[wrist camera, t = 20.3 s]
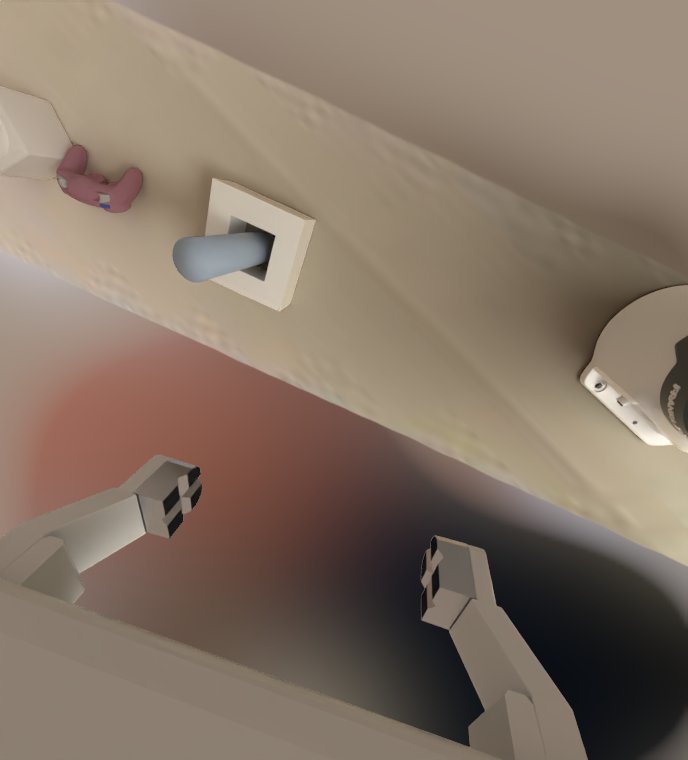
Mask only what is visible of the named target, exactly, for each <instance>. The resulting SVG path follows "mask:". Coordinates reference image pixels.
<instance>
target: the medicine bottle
mask: <svg viewBox="0 0 688 760" xmlns="http://www.w3.org/2000/svg"><path fill="white" fill-rule="evenodd" d="M72 146H73V145H72V143H71V141H70V139H69V137H68V136H67V134H66V132H65V130H64V128H63V126H62V124H61V122H60V120H59V119H58V117H57V115H56V113H55V111H54V109H53V107H52V105H51V103H50V102H49V101H47V100H45V99H41V98H38V97H35V96H32V95H29V94H25V93H22V92H19V91H16V90H13V89H9V88H6V87H3V86H0V175H3V176H14V177H24V178H34V179H44V180H50V179H52V178H54V177H56V175H57V174H56V170H57V168H58V167H59V165H60V164H61V163H62V161H63V159H64V157H65V155H66V153H67V152H68V150H69V149H70V147H72Z"/></svg>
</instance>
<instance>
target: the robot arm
mask: <svg viewBox="0 0 688 760" xmlns="http://www.w3.org/2000/svg"><path fill="white" fill-rule="evenodd" d="M580 383H581V384H582V385H583V386H584V387H585V388H586V389H587V390H588V391H590V392H591V393H592V394H593V395H594V396H595V397H596V398H597V399H598V400H599V401H600V402H601V403H602V404H603V405H605V406H606V407H607V408H608V409H609V410H610V411H611V412H612V413H613V414H614V415H615V416H616V417H617V418H618V419H620V420H621V421H622V422H623V423H624V424H625V425H626V426H627V427H628V428H629V429H630V430H631V431H632V432H633V433H634V434H636V435H637V436H638V437H639V438H640V439H641V440H642V441H644V442H645V443H646V444H648V445H656V446H661V445H674V446H676V447H677V448H678V449H679V450H681V451H683V452H688V285H682V286H674V287H669V288H665V289H661V290H658V291H655V292H653V293H650V294H648V295H645V296H643V297H641V298H639V299H637V300H636V301H634V302H632V303H631V304H629V305H628V306H626V307H625V308H624V309H622V310H621V311H620V312H619V313H618V314H617V315H615V316H614V317H613V318H612V320H611V321H610V322H609V323H608V324H607V325H606V327H605V328H604V330H603V331H602V333H601V335H600V336H599V338H598V341H597V344H596V347H595V351H594V355H593V358H592V360H591V362H590V363H589V365H588V366H587V367H586V368H585V370H584V371H583V373H582V374H581V376H580ZM597 383H600V384H599V385H598V386H595V385H596V384H597ZM200 475H201V472H200V467H197V466H194V465H191V464H187V463H185V462H181V461H178V460H175V459H172V458H169V457H166V456H162V455H156V456H154V457H152V458H151V459H150V460H149V461H148V462H147V463H145V464H144V465H143V466H142V467H141V468H140V469H139V470H138V471H137V472H135V473H134V475H132V476H131V477H130V478H129V479H128V480H127V481H126V482H124V483H123V484H122V485H121V486H120V487H119V488H118V489H117V488H111V489H108V490H106V491H103V492H101V493H98V494H95V495H93V496H90V497H88V498H85V499H83V500H80V501H78V502H75V503H72V504H70V505H67V506H64V507H62V508H59V509H57V510H54V511H52V512H49V513H46V514H44V515H41V516H38V517H36V518H33V519H31V520H28V521H26V522H23V523H20V524H19V525H18V526H17V527H15V528H14V529H13V530H11V531H10V532H9V533H7V534H6V535H5V536H4V537H2V538H1V539H0V760H588V759H587V756H586V753H585V750H584V746H583V743H582V740H581V737H580V733H579V730H578V727H577V723H576V720H575V717H574V714H573V711H572V709H571V707H570V706H569V704H568V703H567V701H566V700H565V699H564V697H563V696H562V694H561V693H560V691H559V690H558V688H557V687H556V686H555V684H554V683H553V681H552V680H551V678H550V677H549V675H548V674H547V673H546V671H545V670H544V668H543V667H542V665H541V664H540V663H539V661H538V660H537V658H536V657H535V655H534V654H533V652H532V651H531V650H530V648H529V647H528V645H527V644H526V642H525V641H524V640H523V638H522V637H521V635H520V634H519V632H518V631H517V629H516V628H515V626H514V625H513V624H512V622H511V621H510V619H509V618H508V616H507V615H506V614H505V612H504V611H503V609H502V608H500V607H497V606H496V602H495V597H494V592H493V587H492V582H491V577H490V572H489V568H488V562H487V557H486V553H485V551H484V550H483V549H481V548H477V547H474V546H470V545H466V544H465V543H461V542H457V541H454V540H449V539H447V538H442V537H439V536H434V537H433V538H432V540H431V542H430V543H431V549H428V550H426V552H425V555H424V558H423V562H422V568H421V582H422V584H423V586H424V588H425V590H424V592H423V594H422V595H421V620H423V621H426V622H428V623H432V624H434V625H437V626H440V627H443V628H445V629H448V630H450V631H449V632H450V635H451V637H452V639H453V641H454V643H455V645H456V647H457V650H458V652H459V654H460V656H461V659H462V661H463V663H464V665H465V667H466V669H467V671H468V674H469V676H470V678H471V680H472V683H473V685H474V687H475V689H476V691H477V693H478V695H479V698H480V700H481V702H482V704H483V706H484V709H485V712H484V713H483V714H482V715H481V716H480V717H478V718H477V719H476V720H475V721H474V722H473V723H472V724H471V725H470V726H469V738H470V747H467V746H464V745H462V744H459V743H456V742H453V741H450V740H448V739H445V738H442V737H439V736H436V735H434V734H431V733H428V732H426V731H423V730H420V729H417V728H415V727H412V726H409V725H406V724H403V723H401V722H398V721H395V720H392V719H390V718H387V717H384V716H381V715H379V714H376V713H373V712H370V711H368V710H365V709H362V708H359V707H356V706H354V705H351V704H348V703H345V702H343V701H340V700H337V699H334V698H331V697H329V696H326V695H323V694H321V693H318V692H315V691H312V690H309V689H307V688H304V687H301V686H298V685H296V684H293V683H290V682H287V681H284V680H282V679H279V678H276V677H274V676H271V675H268V674H265V673H262V672H260V671H257V670H254V669H251V668H249V667H246V666H243V665H240V664H237V663H235V662H232V661H229V660H226V659H224V658H221V657H218V656H215V655H213V654H210V653H207V652H204V651H202V650H199V649H196V648H193V647H191V646H188V645H185V644H182V643H179V642H177V641H174V640H171V639H168V638H166V637H163V636H160V635H157V634H154V633H152V632H149V631H146V630H143V629H141V628H138V627H135V626H132V625H129V624H127V623H124V622H121V621H119V620H116V619H113V618H110V617H107V616H105V615H102V614H99V613H96V612H93V611H91V610H88V609H85V608H83V607H80V606H77V605H74V604H73V603H74V602H75V601H76V600H77V599H78V598H79V597H80V595H81V594H82V593H83V592H84V588H85V585H84V583H83V581H82V579H81V577H80V575H79V573H81V572H83V571H84V570H86V569H88V568H89V567H91V566H92V565H94V564H95V563H97V562H99V561H101V560H102V559H104V558H106V557H107V556H109V555H111V554H112V553H114V552H116V551H117V550H119V549H121V548H122V547H124V546H126V545H127V544H129V543H131V542H132V541H134V540H136V539H137V538H139V537H141V536H142V535H144V534H145V533H146V532H148V533H152V534H155V535H158V536H162V537H166V538H169V539H170V538H171V536H172V535H173V534H174V533H175V531H176V530H177V529H178V527H179V526H180V525H181V524H182V522H183V514H185V513H187V512H189V511H191V510H192V509H193V508H194V507H195V505H196V504H197V502H198V500H199V498H200V496H201V492H202V483H201V482H200V481H199V479H198V477H199V476H200Z"/></svg>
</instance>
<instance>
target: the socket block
mask: <svg viewBox="0 0 688 760" xmlns="http://www.w3.org/2000/svg"><path fill="white" fill-rule="evenodd" d="M315 222H316V219H313V218H311V217H309V216H307V215H305V214H302V213H300V212H298V211H296V210H294V209H292V208H289V207H287V206H285V205H283V204H281V203H278V202H276V201H274V200H272V199H270V198H268V197H265V196H263V195H261V194H259V193H257V192H254V191H252V190H250V189H248V188H246V187H243V186H241V185H239V184H237V183H235V182H233V181H227V180H222V179H217V178H212V185H211V193H210V200H209V207H208V215H207V222H206V230H205V236H211V235H222V234H234V233H245V230H246V225H247V223H249V224H252V225H254V226H256V227H258V228H260V229H262V230H265V231H267V232H269V233H271V234H273V235H276V236H275V240H274V244H273V248H272V252H271V256H270V260H269V265H268V269H267V271H265V270H263V269H261V268H259V267H257V266H252V267H249V268H246V269H242V270H239V271H236V272H232V273H229V274H225V275H222V276H219V277H215V278H212V279H209V280H211V281H213V282H215V283H218V284H220V285H222V286H224V287H226V288H228V289H231V290H233V291H235V292H237V293H239V294H242V295H244V296H246V297H248V298H250V299H252V300H255V301H257V302H259V303H261V304H263V305H266V306H268V307H270V308H272V309H274V310H277V311H281V310H282V309H284V308H285V307H287V306H288V305H290V304H291V301H292V298H293V295H294V291H295V288H296V285H297V281H298V278H299V275H300V272H301V268H302V265H303V262H304V258H305V255H306V252H307V248H308V245H309V242H310V239H311V235H312V232H313V229H314V225H315Z"/></svg>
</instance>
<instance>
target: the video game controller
mask: <svg viewBox="0 0 688 760" xmlns="http://www.w3.org/2000/svg"><path fill="white" fill-rule="evenodd" d="M87 158H88V157H87V151H86V150H85V148H84V147H82V146H80V145H74V146H72V147H70V149H69V150H68V152H67V153H66V155H65V157H64V159H63V161H62V163H61V164H60V165H59V167H58V168H57V170H56V174H57V175H56V177H57V180H58V183H59V185H60V187H61V189H62V191H63V192H64V193H65V194H68V195H69V196H71V197H72V198H74V199H76V200H78V201H81V202H83V203H86V204H89V205H92V206H96V207H101V208H104V209H105V210H106V211H108V212H113V213H121V212H125V211H127V210H128V209H130V207H131V203H132V202H133V200H134V199H135V198H136V196H137V195H138V193H139V191H140V189H141V185H142V181H143V177H142V173H141V171H140V170H139V169H138V168H131V169H129V170H128V171H127V172H126V173H125V174H124V176H123V177H122V179H121V180H120V182H112V183H109V184H107V182H106V180H105V177H104V176H102V175H100V174H89V175H84V172H85V169H86V165H87Z"/></svg>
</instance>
